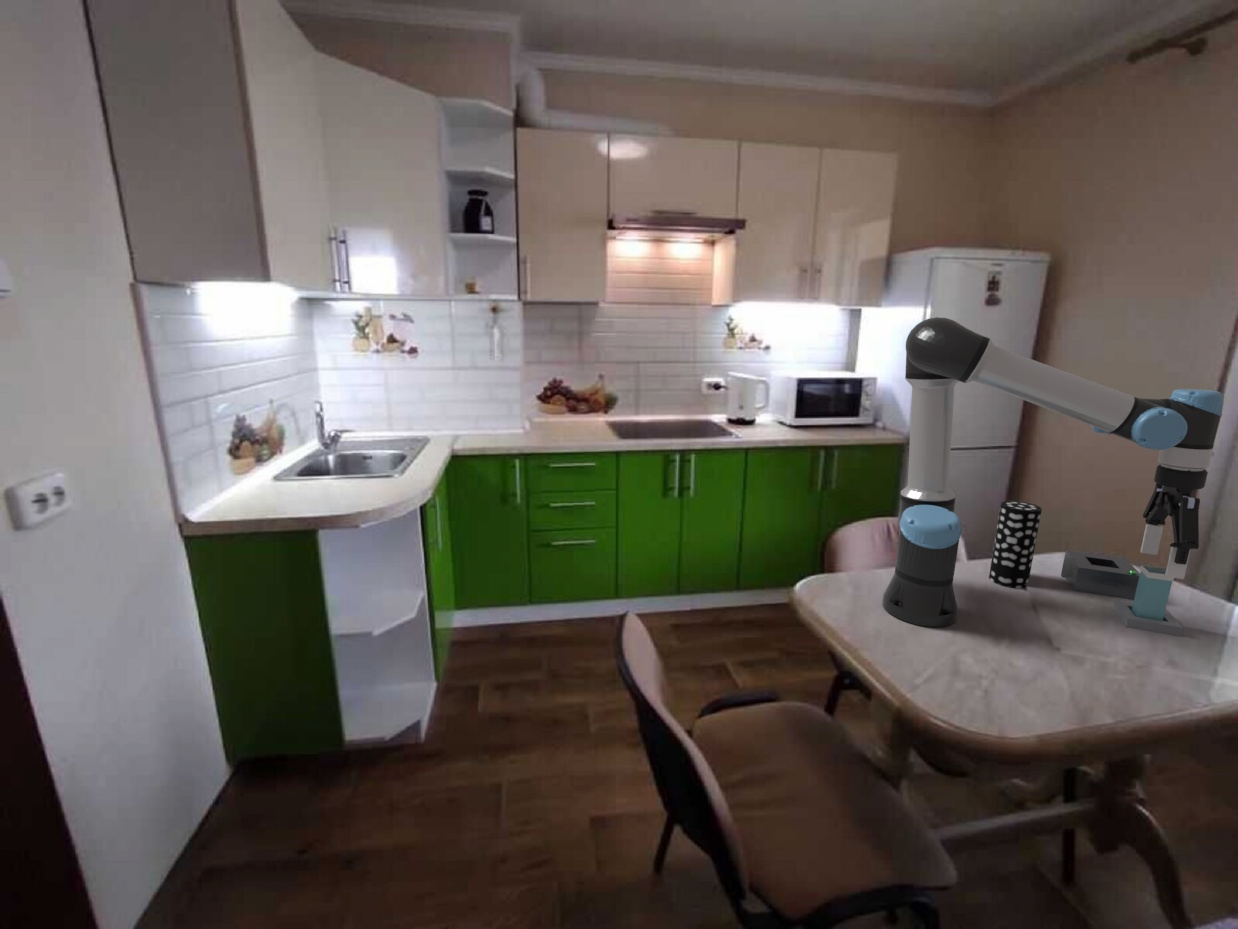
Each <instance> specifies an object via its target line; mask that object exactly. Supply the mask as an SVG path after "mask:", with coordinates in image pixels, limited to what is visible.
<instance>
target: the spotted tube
mask: <svg viewBox="0 0 1238 929" xmlns="http://www.w3.org/2000/svg"><path fill="white" fill-rule="evenodd" d="M1042 510H1043V509H1042V507H1041V506H1039V505H1037V504H1034V503H1031V502H1025V501H1019V500H1018V501H1017V500H1004V501H1001V503H1000V507H999V513H998V519H997V520H998V521H997V526H996V532H995V538H994V544H993V549H992V555H991V562H990V569H989V574H988V579H989V580H990V581H991V582H992V583H995V584H997V585H1000V586H1002V587H1006V588H1011V589H1025V588H1027V586H1026V585H1027V584H1029V581H1030V576H1031V570H1032V565H1033V559H1034V554H1035V547H1036V543H1037V539H1038V538H1037V537H1038V532H1039V526H1040V521H1041V516H1042V512H1043V511H1042Z"/></svg>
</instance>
